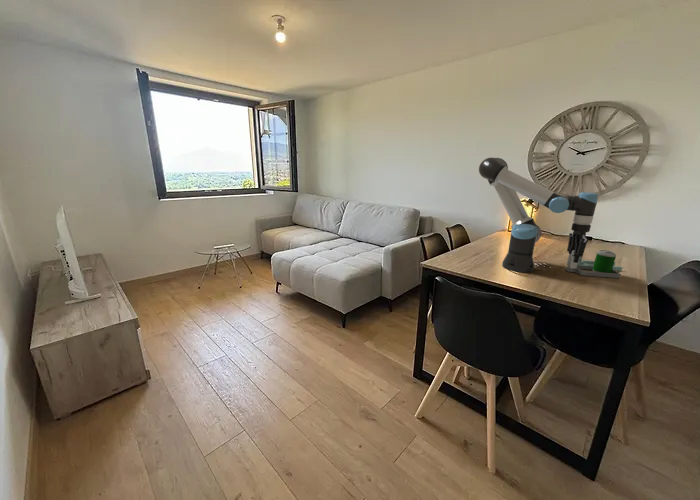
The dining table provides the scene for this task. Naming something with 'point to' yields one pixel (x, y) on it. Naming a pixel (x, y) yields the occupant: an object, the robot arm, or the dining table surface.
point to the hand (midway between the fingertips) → (571, 266)
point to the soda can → (604, 261)
